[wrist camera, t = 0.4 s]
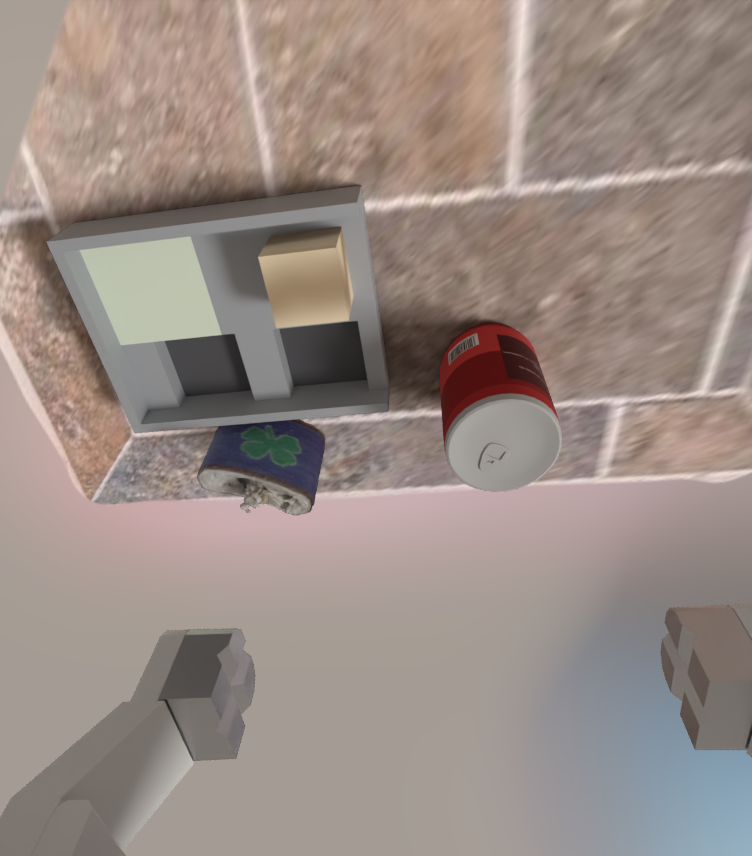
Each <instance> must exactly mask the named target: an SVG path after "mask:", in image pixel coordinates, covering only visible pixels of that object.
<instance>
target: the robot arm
mask: <svg viewBox="0 0 752 856" xmlns="http://www.w3.org/2000/svg"><path fill="white" fill-rule="evenodd" d="M665 624H666V627H667V629H668V631H669V634H668V635H666V637H664V638H663V639H662V644H661V659H662V668H663V672H664V675H665V679H666V681H667V684H668V686H669V689H670V691H671V693H673V694H674V695H675V696H676V697H678V698H679V699H680V700H681V701H682V706H681V712H680V715H681V718H682V720H683V723H684V725H685V727H686V730H687V732H688V735H689V737H690V739H691V742H692V744H693V746H694V749H695V750H747V753H748V754H749V755H750V756H751V757H752V604H737V605H736V604H734V605H710V606H693V607H676V608H669V609H668V611H667V612H666V617H665ZM245 641H246V640H245V638H244V635H243V633H242V630H241V629H237V628H233V629H190V630H167V631H166V632H165V633H164V634H163V635H162V636H161V637H160V639H159V641H158V643H157V645H156V647H155V649H154V652H153V654H152V656H151V658H150V660H149V663H148V664H147V667H146V669H145V671H144V673H143V675H142V677H141V679H140V682H139V684H138V686H137V688H136V690H135V692H134V695H133V697H132V699H131V701H130V702H122V703H121V704H120V705H119V706H118V707H117V708H116V709H114V710H113V711H112V712H111V713H110V714H109V715H107V716H106V717H105V718H104V719H103V720H102V721H101V722H99V723H98V724H97V725H96V726H95V727H93V728H92V729H91V730H90V731H89V732H88V733H86V734H85V735H84V736H83V737H82V738H81V739H80V740H78V741H77V742H76V743H75V744H74V745H72V746H71V747H70V748H69V749H68V750H67V751H65V752H64V753H63V754H62V755H61V756H60V757H58V758H57V759H56V760H55V761H54V762H53V763H51V764H50V765H49V766H48V767H47V768H46V769H44V770H43V771H42V772H41V773H40V774H39V775H38V776H36V777H35V778H34V779H33V780H32V781H30V782H29V783H28V784H27V785H26V786H25V787H24V788H22V789H21V790H20V791H19V792H18V793H16V794H15V795H14V796H13V797H12V798H11V799H10V801H9V803H8V804H7V806H6V808H5V810H4V811H3V813H2V815H1V817H0V856H125V854H124V853H123V850H124V849H125V847H126V846H127V845H128V844H129V842H130V841H131V840H132V839H133V838H134V836H135V835H136V834H137V833H138V831H139V830H140V829H141V828H142V827H143V825H144V824H145V823H146V822H147V820H148V819H149V818H150V817H151V816H152V814H153V813H154V812H155V811H156V809H157V808H158V807H159V806H160V805H161V803H162V802H163V801H164V800H165V798H166V797H167V796H168V795H169V793H170V792H171V791H172V790H173V789H174V787H175V786H176V785H177V784H178V782H179V781H180V780H181V779H182V778H183V776H184V775H185V774H186V773H187V771H188V770H189V769H190V768H191V767H192V765H193V764H194V762H193V761H200V760H221V759H236V758H237V754H238V751H239V747H240V743H241V739H242V736H243V732H244V729H245V724H244V721H243V719H242V716H241V714H242V713H243V712H244V711H245V710H246V709H247V708H248V707H249V706H250V705H251V702H252V698H253V694H254V687H255V670H254V663H253V660H252V657H251V656H250V655H249V654H248V653H246V652H245V651H244V650H243V648H244V645H245Z"/></svg>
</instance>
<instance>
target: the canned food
mask: <svg viewBox="0 0 752 856" xmlns="http://www.w3.org/2000/svg"><path fill="white" fill-rule="evenodd" d="M440 392H441V407H442V422H443V437H444V447H445V453H446V457H447V461H448V465H449V466H450V468H451V470H452V472H453V473H454V474H455V475H456V476H457V478H458V479H460V480H461V481H463V482H464V483H465V484H467V485H469V486H471V487H474V488H476V489H480V490H484V491H493V492H498V491H509V490H513V489H518V488H521V487H524V486H526V485H528V484H530V483H532V482H534V481H536V480H537V479H539V478H540V477H541V476H543V475H544V474H545V473H546V472H547V471H548V470H549V469H550V468H551V467H552V466H553V464H554V463H555V461H556V460H557V458H558V455H559V453H560V450H561V444H562V435H561V427H560V423H559V420H558V416H557V413H556V411H555V408H554V405H553V402H552V399H551V396H550V393H549V391H548V388H547V385H546V382H545V379H544V376H543V374H542V371H541V368H540V365H539V362H538V359H537V356H536V354H535V351H534V348H533V346H532V345H531V343H530V342H529V340H528V339H527V338H526V337H524V336H523V335H522V334H521V333H520V332H518V331H516V330H515V329H513V328H511V327H508V326H505V325H502V324H483V325H479V326H475V327H473V328H471V329H468V330H466V331H465V332H463V333H462V334H460V335H459V336H458V337H457V338H456V339H455V340H454V341H453V342H452V343H451V344H450V346H449V347H448V348H447V350H446V352H445V354H444V356H443V358H442V361H441V365H440Z"/></svg>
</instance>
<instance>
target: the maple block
mask: <svg viewBox="0 0 752 856" xmlns="http://www.w3.org/2000/svg"><path fill="white" fill-rule="evenodd" d="M258 259H259V263H260V266H261V270H262V274H263V278H264V282H265V286H266V290H267V294H268V298H269V301H270V305H271V309H272V313H273V317H274V321H275V325H276V328H282V327H292V326H302V325H311V324H321V323H330V322H340V321H349V317H350V312H351V306H352V301H353V290H352V284H351V279H350V273H349V267H348V261H347V255H346V249H345V243H344V237H343V231H342V227H337V228H328V229H320V230H312V231H304V232H296V233H288V234H279V235H271V236H269V238H268V240H267V242H266V244H265V245H264V247H263V249H262V251H261V253H260V254H259V256H258Z"/></svg>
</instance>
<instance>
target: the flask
mask: <svg viewBox="0 0 752 856" xmlns="http://www.w3.org/2000/svg"><path fill="white" fill-rule="evenodd" d="M324 445H325V435H324V434H323V433H322V432H321V430H319V429H317V428H316V427H314V426H312V425H310V424H307V423H305V422H303V421H300V420H297V419H295V420H283V421H272V422H260V423H248V424H236V425H225V426H219V427H218V430H217V432H216V434H215V436H214V439H213V441H212V443H211V445H210V448H209V450H208V452H207V454H206V456H205V459H204V461H203V463H202V465H201V467H200V470H199V472H198V475H197V478H198V481H199V483H200V484H201V486H202V488H204V489H206V490H209V491H213V492H221V493H226V494H232V495H237V496H242V497H245V498H244V503H242V504H241V505H240V507H241V509H243V510H245V511H246V512H247V513H250V512H251V511H250V510H249V509H248V507H249V506H251V507H253V508H256V507H259V504H265V503H266V504H268V505H271V506H274V507H277V508H278V509H280V510H282V511H284V512H285V513H287V514H292V515H300V514H305V513H307V512H310V511H311V509H312V506H313V505H314V501H315V495H316V491H317V485H318V478H319V474H320V469H321V464H322V458H323V454H324Z"/></svg>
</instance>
